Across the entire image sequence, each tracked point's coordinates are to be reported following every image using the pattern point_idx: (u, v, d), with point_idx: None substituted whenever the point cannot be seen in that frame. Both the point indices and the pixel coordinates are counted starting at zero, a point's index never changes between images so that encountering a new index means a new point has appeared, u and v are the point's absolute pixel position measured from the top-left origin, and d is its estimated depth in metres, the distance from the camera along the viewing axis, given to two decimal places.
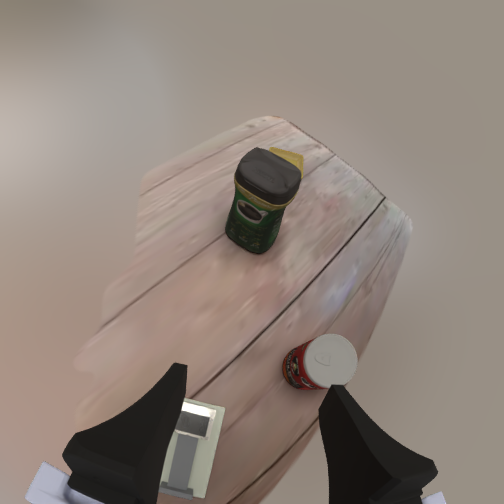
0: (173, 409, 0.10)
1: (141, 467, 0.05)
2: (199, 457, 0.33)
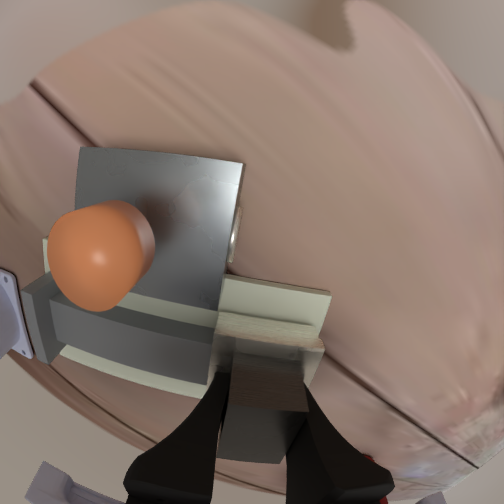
0: None
1: None
2: None
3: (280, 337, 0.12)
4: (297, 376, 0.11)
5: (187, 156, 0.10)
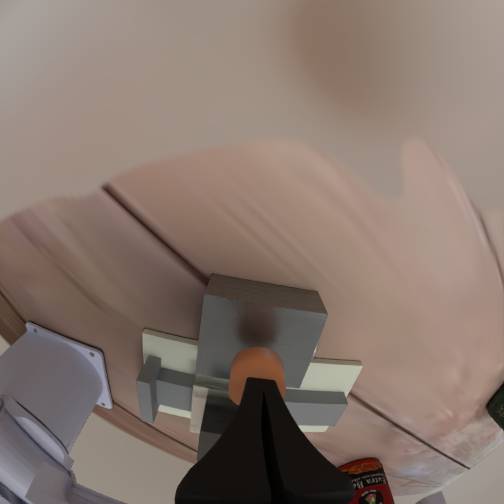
0: None
1: None
2: None
3: None
4: None
5: (293, 310, 0.15)
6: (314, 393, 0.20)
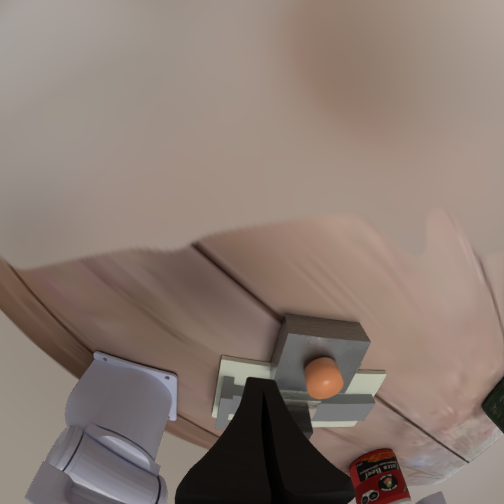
0: None
1: None
2: None
3: (299, 396, 0.22)
4: (307, 415, 0.21)
5: (348, 340, 0.20)
6: (350, 396, 0.25)
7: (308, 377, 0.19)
